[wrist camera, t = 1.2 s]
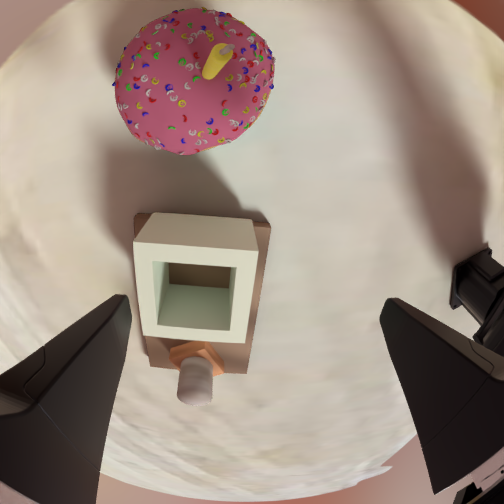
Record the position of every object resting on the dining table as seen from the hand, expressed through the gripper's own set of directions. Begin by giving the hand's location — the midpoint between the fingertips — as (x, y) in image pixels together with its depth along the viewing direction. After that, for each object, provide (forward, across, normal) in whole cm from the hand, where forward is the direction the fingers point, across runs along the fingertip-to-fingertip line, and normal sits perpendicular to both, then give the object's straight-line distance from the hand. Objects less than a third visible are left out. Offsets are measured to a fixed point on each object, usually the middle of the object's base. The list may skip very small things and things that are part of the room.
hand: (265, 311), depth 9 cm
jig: (+13, +3, +10) cm, 16 cm away
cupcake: (+13, +4, -8) cm, 16 cm away
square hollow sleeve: (+12, +3, +5) cm, 13 cm away
